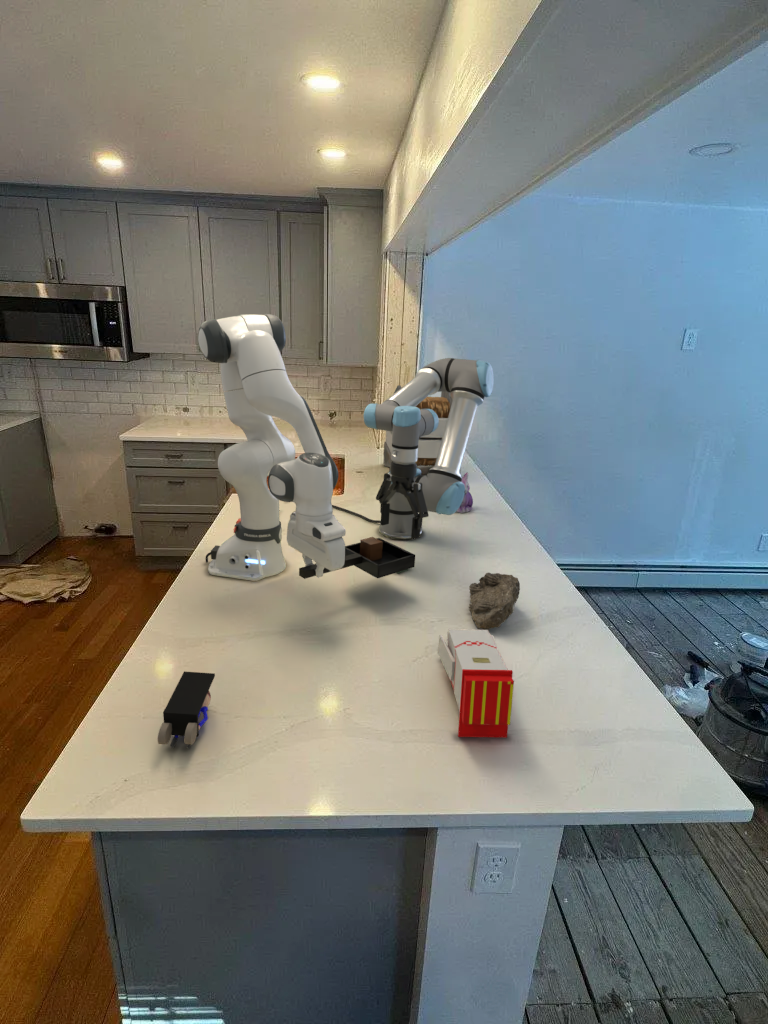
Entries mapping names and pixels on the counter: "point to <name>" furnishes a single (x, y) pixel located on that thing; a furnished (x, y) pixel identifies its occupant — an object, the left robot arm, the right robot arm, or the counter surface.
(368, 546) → the walnut block
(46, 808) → the counter surface
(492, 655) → the toy
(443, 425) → the transformer
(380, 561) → the pan
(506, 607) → the fossil
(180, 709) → the figurine character
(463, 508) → the figurine
